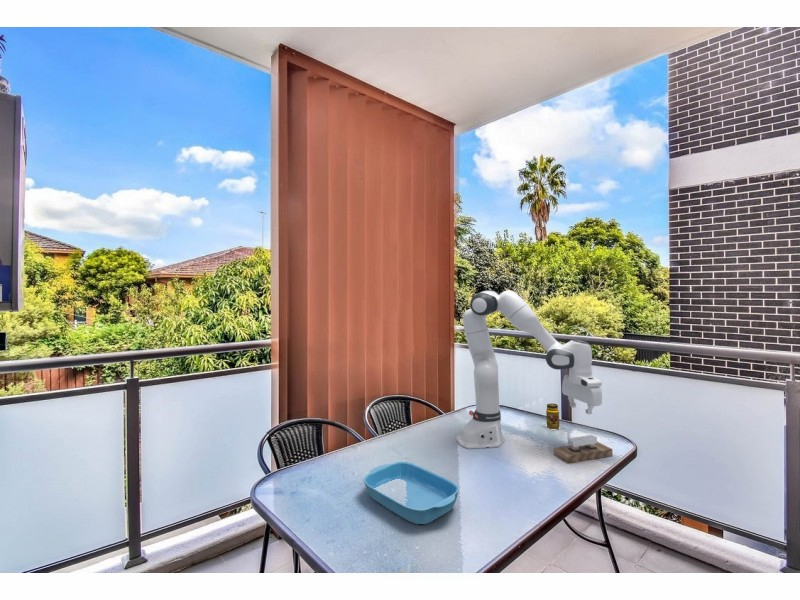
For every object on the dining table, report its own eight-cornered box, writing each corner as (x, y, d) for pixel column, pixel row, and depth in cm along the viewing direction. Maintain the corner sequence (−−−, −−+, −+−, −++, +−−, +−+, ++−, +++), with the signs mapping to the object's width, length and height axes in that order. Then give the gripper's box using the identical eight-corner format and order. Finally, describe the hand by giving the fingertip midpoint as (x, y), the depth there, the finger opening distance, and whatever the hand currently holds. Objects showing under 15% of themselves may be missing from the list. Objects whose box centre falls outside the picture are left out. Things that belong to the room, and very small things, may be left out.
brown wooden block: (567, 463, 155) (567, 456, 155) (553, 454, 164) (553, 448, 164) (612, 456, 160) (612, 448, 160) (596, 447, 169) (596, 441, 169)
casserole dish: (353, 494, 138) (352, 475, 138) (399, 473, 153) (398, 455, 153) (425, 541, 111) (424, 517, 110) (472, 510, 125) (472, 489, 125)
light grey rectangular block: (573, 458, 159) (572, 441, 159) (568, 455, 162) (567, 438, 162) (597, 454, 162) (596, 437, 162) (592, 452, 165) (591, 434, 165)
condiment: (552, 431, 191) (552, 407, 191) (540, 425, 199) (539, 403, 198) (563, 428, 194) (563, 405, 193) (551, 423, 202) (550, 401, 201)
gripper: (558, 373, 171) (558, 404, 171) (591, 384, 151) (591, 418, 151) (570, 372, 172) (570, 402, 173) (605, 383, 152) (605, 417, 153)
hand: (580, 410), depth 162 cm, fingers open, 8 cm apart
